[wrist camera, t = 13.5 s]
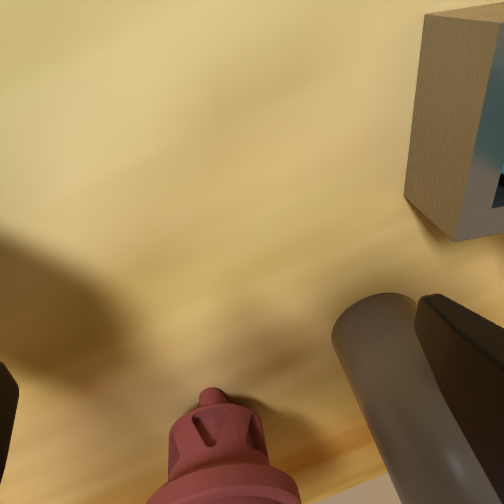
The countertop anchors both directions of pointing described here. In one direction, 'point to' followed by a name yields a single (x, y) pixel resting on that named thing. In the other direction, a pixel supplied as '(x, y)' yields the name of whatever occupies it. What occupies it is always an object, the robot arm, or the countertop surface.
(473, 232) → the block
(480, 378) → the robot arm
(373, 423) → the round bit
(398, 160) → the countertop surface
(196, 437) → the mechanical component
